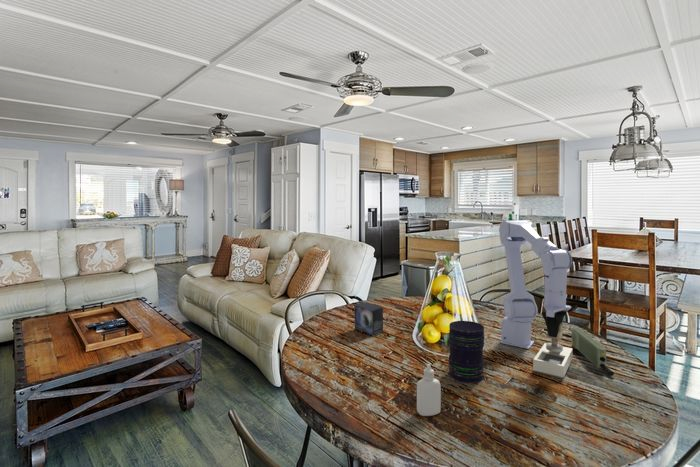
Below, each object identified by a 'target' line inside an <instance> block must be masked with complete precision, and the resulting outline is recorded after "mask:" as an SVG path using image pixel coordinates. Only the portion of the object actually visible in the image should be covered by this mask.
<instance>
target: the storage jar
mask: <svg viewBox="0 0 700 467" xmlns="http://www.w3.org/2000/svg"><path fill="white" fill-rule="evenodd" d="M484 331H485V326H484V325H482V324H480V323H478V322H475V321H470V320H455V321H452V322H450V323H449V332H448V343H449V355H448V370H449V371H448V375H450V376H449V377H450V378H451V379H452V378H453V379H452V380H453V381H457V382H459V383H462V384H470V383H471V384H478V383H481V382H482V381H483V380H484V370H485V365H484V364H485V361H484V360H485V359H484V355H483V354H484V347H485V332H484ZM480 381H481V382H480Z"/></svg>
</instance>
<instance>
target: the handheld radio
mask: <svg viewBox="0 0 700 467" xmlns="http://www.w3.org/2000/svg"><path fill="white" fill-rule="evenodd" d="M571 344H572V346H573V347H574V348H575V349H576V350H577V351H579V352H580V354H582V355H583V356H584V357H585V358H586V359H587V360H588V359H589V360H590V361H589V360H588V361H589V362H590V363H591V364H592V365H593V366H594V367H595V368H597V369H599V368H601V370H603V371H605V372H606V373H607V374H608V375H609V376H610V377H613V376H615V373H614V371H613V370H611V369H610V367H608V365H607V348H605V347H604V346H603V345H602V344H601V343H599V342H598V341H597V340H595V339H594V338H593V337H591V336H590V335H589V334H588V333H586V332H585V330H583V329H581V328H580V327H578V326H574V327H572V329H571Z"/></svg>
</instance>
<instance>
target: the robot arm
mask: <svg viewBox="0 0 700 467" xmlns="http://www.w3.org/2000/svg"><path fill="white" fill-rule="evenodd" d="M498 232H499V239H500V244H501V245H502V246H504V252H505V259H506V268H507V274H508V280H509V282H508V283H509V287H510V292H509V293H508V294H506V295H505V296H504V297H503V313H504V315H505V316H504V317H503V318H502V320H501V326H500V329H501V331H500V343H501V344H504V345H508V346H514V347H517V348H523V349H527V350H528V349H530V348H531V347H532V346H533V344H534V343H535V341H534V340H532V321H534V318H536V317H537V315H538V312H539V311H538V306H537V304H536V301H535V297H534V295H532V294H531V293H530V292H528V291H527V287H526V280H525V275H524V274H525V273H524V266H523V260H522V256H521V255H522V254H521V246H522V245H524V244H526V243H527V242H528V243H529V244H530V245H531V248H530V249H531V250H532V252H534V254H535V255H536V256H538V258H539V259H540V263H541V266H542V272H543V275H544V298H543V299H544V300H543V302H544V303H543V308H544V309H545V311H542V312H541V316H542V318H543V320H544V323H545V325H546V331H548V335H549V336H551V337H557V335H558V331H559V326H560V323H562V324H563V321H564V318H565V317H566V316H565V315H567V313H568V311H569V310H570V309H571V305H567V284H568V283H567V282H568V281H567V280H568V278H567V277H568V270H569V269H570V268H571V267H572V263H573V256H572V255H571V254H572V253H571V252H570V251H569V250H568V249H561V248H558V246H557V245H556V244H554V243H553V242H552V241H550V239H549V237H547V236H540V235H539V234H538V233H537V231H536V230H535V229H534V224H533V222H531V220H529V219H525V220H524V219H521V220H519V219H517V220H516V219H515V220H513V219H512V220H506V219H504V220H502V221H501V223H500V225H499V229H498Z"/></svg>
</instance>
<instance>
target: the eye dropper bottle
mask: <svg viewBox="0 0 700 467" xmlns="http://www.w3.org/2000/svg"><path fill="white" fill-rule="evenodd" d="M440 382H441V381H440V380H438V379H437V378H435V371H434V369H433V368H432V367H431V364H430V363H427V364H426V368H423V377H422V379H420V380H418V381H417V383H416V412H417V413H418V414H419V415H420V416H421V417H422V416H423V417H431V416H435V415H438V414H439V413H440V412H441V409H442V407H441V402H442V401H441V398H442V396H441V393H442V391H441V390H442V389H441V388H442V387H441V383H440Z"/></svg>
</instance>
